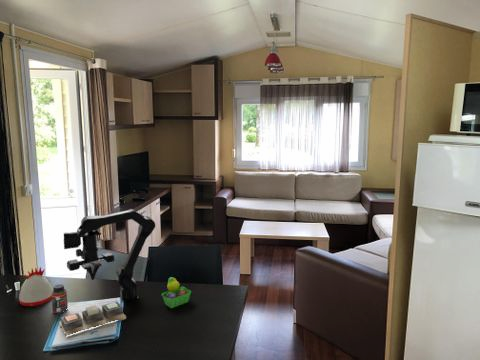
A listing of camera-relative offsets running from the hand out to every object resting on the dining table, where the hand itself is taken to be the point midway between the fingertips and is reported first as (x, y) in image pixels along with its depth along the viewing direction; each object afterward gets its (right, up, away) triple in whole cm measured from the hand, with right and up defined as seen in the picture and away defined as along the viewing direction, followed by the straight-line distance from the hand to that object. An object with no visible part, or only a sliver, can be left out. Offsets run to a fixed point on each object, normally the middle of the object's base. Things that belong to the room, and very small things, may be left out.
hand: (92, 279), depth 167 cm
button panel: (+5, -14, -12) cm, 19 cm away
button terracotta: (-1, -13, -17) cm, 21 cm away
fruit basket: (+36, -12, +4) cm, 38 cm away
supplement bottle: (-13, -13, -3) cm, 18 cm away
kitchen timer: (-29, -11, +9) cm, 32 cm away
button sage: (+11, -12, -7) cm, 18 cm away
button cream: (+5, -11, -12) cm, 17 cm away
